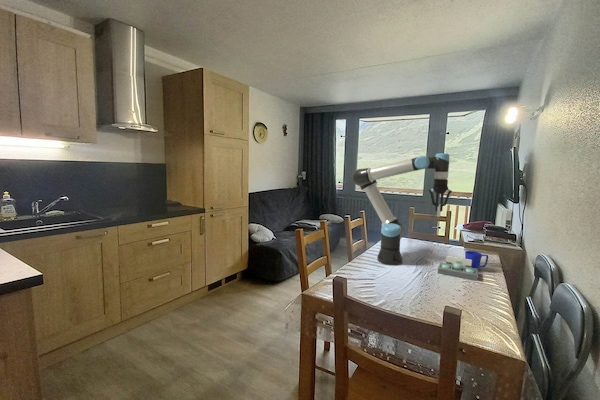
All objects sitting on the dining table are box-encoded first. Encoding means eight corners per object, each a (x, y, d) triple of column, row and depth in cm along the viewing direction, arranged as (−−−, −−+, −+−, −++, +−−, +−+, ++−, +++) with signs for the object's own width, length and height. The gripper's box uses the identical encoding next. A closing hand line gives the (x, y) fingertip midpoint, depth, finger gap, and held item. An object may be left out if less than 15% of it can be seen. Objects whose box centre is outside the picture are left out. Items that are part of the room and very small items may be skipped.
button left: (440, 270, 160) (441, 265, 160) (441, 268, 164) (442, 263, 163) (449, 272, 158) (449, 267, 157) (450, 270, 161) (450, 265, 161)
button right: (464, 275, 154) (465, 270, 153) (465, 272, 157) (465, 267, 157) (474, 277, 151) (474, 271, 151) (474, 274, 155) (474, 269, 155)
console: (437, 273, 158) (437, 268, 157) (439, 267, 168) (440, 262, 167) (477, 280, 148) (477, 275, 147) (476, 273, 158) (477, 268, 157)
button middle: (452, 269, 157) (453, 264, 156) (453, 267, 160) (453, 262, 160) (461, 271, 154) (462, 266, 154) (462, 268, 158) (462, 263, 158)
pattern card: (445, 267, 167) (446, 256, 166) (445, 267, 168) (446, 255, 167) (470, 272, 160) (471, 260, 159) (470, 271, 161) (471, 259, 160)
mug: (490, 272, 159) (491, 256, 158) (466, 271, 162) (468, 254, 160) (483, 267, 167) (485, 251, 166) (461, 266, 170) (463, 250, 168)
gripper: (428, 178, 171) (426, 216, 174) (452, 179, 164) (449, 218, 167) (430, 178, 177) (427, 214, 180) (453, 178, 170) (450, 216, 173)
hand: (438, 216), depth 174 cm, fingers closed
